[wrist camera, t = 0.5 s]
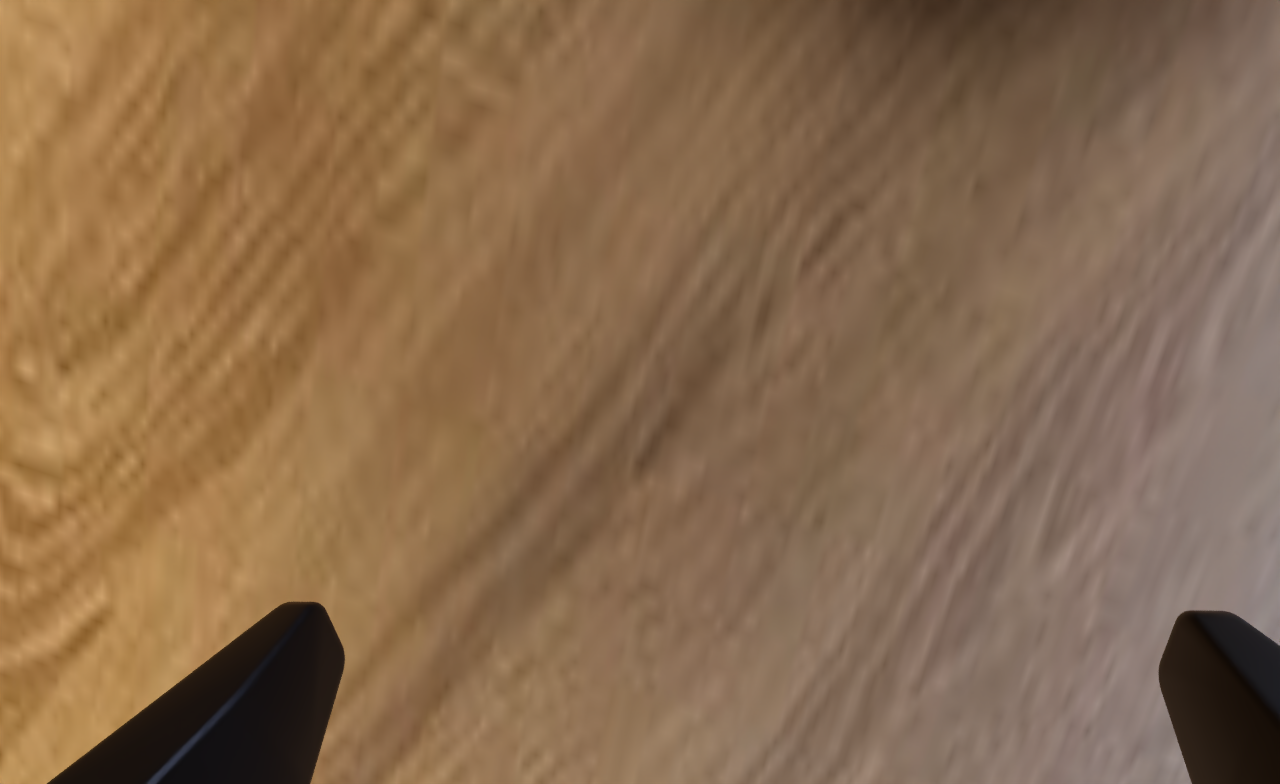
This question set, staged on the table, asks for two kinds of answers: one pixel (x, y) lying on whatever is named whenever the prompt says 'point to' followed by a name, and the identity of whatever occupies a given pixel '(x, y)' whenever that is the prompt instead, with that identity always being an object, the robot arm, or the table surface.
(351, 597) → the table surface
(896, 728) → the table surface
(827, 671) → the table surface
